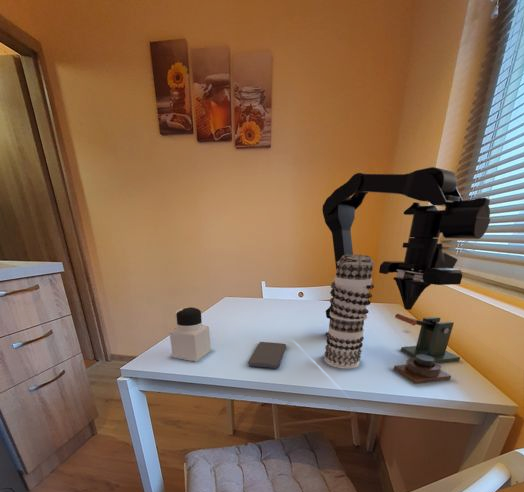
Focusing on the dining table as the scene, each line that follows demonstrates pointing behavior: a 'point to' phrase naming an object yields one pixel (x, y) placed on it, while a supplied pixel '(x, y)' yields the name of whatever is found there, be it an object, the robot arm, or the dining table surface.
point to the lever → (417, 322)
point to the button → (424, 360)
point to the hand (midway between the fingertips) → (407, 309)
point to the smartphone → (267, 355)
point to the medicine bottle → (189, 335)
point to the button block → (421, 372)
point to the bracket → (433, 342)
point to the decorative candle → (348, 310)
